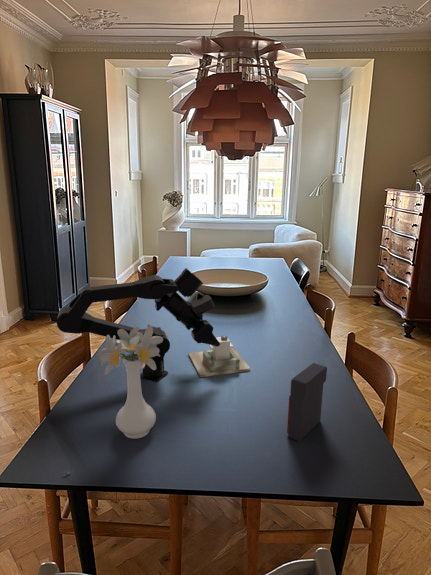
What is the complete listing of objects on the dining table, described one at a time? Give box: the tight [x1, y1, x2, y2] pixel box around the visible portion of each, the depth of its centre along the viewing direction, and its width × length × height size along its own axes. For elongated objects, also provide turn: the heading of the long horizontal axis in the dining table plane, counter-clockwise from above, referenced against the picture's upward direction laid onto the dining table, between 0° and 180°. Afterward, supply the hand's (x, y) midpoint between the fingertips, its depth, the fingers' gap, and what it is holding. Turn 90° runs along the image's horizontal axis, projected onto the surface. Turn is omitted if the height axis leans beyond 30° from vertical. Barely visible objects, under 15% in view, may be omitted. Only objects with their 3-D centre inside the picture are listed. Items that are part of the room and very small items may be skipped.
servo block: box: [208, 335, 234, 361], centre depth 129 cm, size 7×4×9 cm, turn 106°
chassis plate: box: [188, 347, 251, 378], centre depth 133 cm, size 16×16×4 cm
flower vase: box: [97, 324, 163, 440], centre depth 95 cm, size 13×18×25 cm
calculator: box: [286, 362, 328, 442], centre depth 97 cm, size 11×4×15 cm, turn 141°
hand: (214, 339), depth 128 cm, fingers open, 9 cm apart
